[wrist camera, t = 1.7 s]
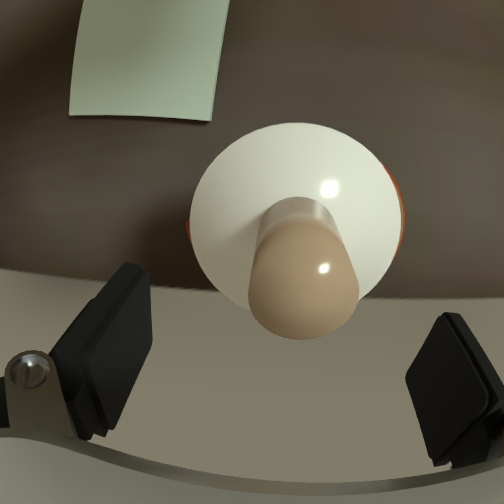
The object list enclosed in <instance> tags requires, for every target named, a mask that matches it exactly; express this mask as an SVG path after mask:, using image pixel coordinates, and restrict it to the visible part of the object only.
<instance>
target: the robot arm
mask: <svg viewBox="0 0 504 504" xmlns="http://www.w3.org/2000/svg"><path fill="white" fill-rule="evenodd" d="M151 345H152V321H151V301H150V273H149V271H145V268H144V266H143V265H139V264H134V263H129V262H125V263H124V264H123V265H122V266H121V267H120V268H119V269H118V270H117V272H116V273H115V274H114V275H113V276H112V278H111V279H110V280H109V281H108V282H107V284H106V285H105V286H104V287H103V288H102V290H101V291H100V292H99V293H98V294H97V296H96V297H95V298H93V299H91V300H90V301H89V302H88V303H87V305H86V306H85V307H84V308H83V310H82V311H81V312H80V313H79V315H78V316H77V317H76V318H75V320H74V321H73V322H72V323H71V325H70V326H69V327H68V329H67V330H66V331H65V333H64V334H63V335H62V336H61V338H60V339H59V341H58V342H57V343H56V344H55V346H54V347H53V348H52V350H51V351H50V352H49V354H48V355H47V354H46V353H44V352H42V351H36V350H31V351H25V352H22V353H19V354H18V355H16V356H14V357H13V358H12V359H11V360H10V361H9V362H8V364H7V366H6V369H5V375H4V377H1V378H0V504H504V385H503V383H502V381H501V380H500V378H499V376H498V374H497V372H496V371H495V369H494V367H493V366H492V364H491V362H490V360H489V359H488V357H487V356H486V354H485V352H484V351H483V349H482V347H481V346H480V344H479V342H478V341H477V339H476V338H475V336H474V335H473V333H472V332H471V330H470V328H469V327H468V325H467V324H466V322H465V321H464V319H463V318H462V317H461V315H460V314H458V313H450V312H445V313H443V314H442V315H441V316H439V317H438V318H437V320H436V322H435V323H434V325H433V327H432V329H431V331H430V333H429V335H428V336H427V338H426V340H425V342H424V344H423V345H422V347H421V349H420V351H419V352H418V354H417V356H416V358H415V359H414V361H413V363H412V364H411V366H410V367H409V369H408V371H407V373H406V377H405V380H406V384H407V387H408V390H409V393H410V396H411V399H412V402H413V405H414V408H415V411H416V415H417V418H418V421H419V424H420V428H421V431H422V434H423V438H424V441H425V445H426V448H427V452H428V455H429V457H430V458H431V459H432V461H433V464H434V467H436V466H441V465H446V464H447V463H449V462H450V461H451V463H452V466H451V467H450V470H448V471H443V472H437V473H432V474H426V475H420V476H413V477H405V478H397V479H388V480H378V481H365V482H346V483H345V482H343V483H305V482H304V483H303V482H283V481H268V480H258V479H249V478H240V477H233V476H226V475H219V474H213V473H207V472H202V471H197V470H192V469H187V468H181V467H177V466H173V465H168V464H163V463H160V462H155V461H152V460H148V459H144V458H140V457H136V456H133V455H130V454H126V453H123V452H120V451H117V450H113V449H110V448H107V447H103V446H100V445H96V444H93V443H90V442H88V440H90V439H91V438H92V436H93V434H97V435H100V436H102V437H106V434H107V432H108V430H109V429H110V430H113V429H114V428H115V427H116V424H117V422H118V420H119V418H120V415H121V413H122V411H123V408H124V406H125V404H126V402H127V399H128V397H129V395H130V393H131V390H132V388H133V386H134V384H135V381H136V379H137V377H138V375H139V372H140V370H141V368H142V366H143V364H144V361H145V359H146V357H147V355H148V353H149V351H150V349H151Z"/></svg>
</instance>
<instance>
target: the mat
mask: <svg viewBox="0 0 504 504" xmlns="http://www.w3.org/2000/svg"><path fill="white" fill-rule="evenodd" d="M229 2H230V0H84V2H83V7H82V12H81V17H80V22H79V27H78V33H77V40H76V46H75V53H74V61H73V70H72V80H71V91H70V106H69V115H131V116H154V117H170V118H183V119H195V120H205V121H211V119H212V111H213V103H214V96H215V89H216V82H217V75H218V68H219V61H220V55H221V49H222V43H223V36H224V31H225V25H226V19H227V13H228V8H229Z"/></svg>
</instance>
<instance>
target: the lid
mask: <svg viewBox="0 0 504 504" xmlns="http://www.w3.org/2000/svg"><path fill="white" fill-rule="evenodd" d="M400 230H401V212H400V205H399V200H398V196H397V193H396V190H395V187H394V185H393V183H392V181H391V178H390V176H389V175H388V173H387V172H386V170H385V168H384V167H383V165H382V164H381V163H380V162H379V161H378V159H377V158H376V157H375V156H374V155H373V154H372V153H371V152H370V151H369V150H368V149H366V148H365V147H364V146H363V145H362V144H360V143H359V142H357V141H355V140H354V139H352V138H351V137H349V136H347V135H345V134H343V133H341V132H339V131H337V130H334V129H332V128H329V127H326V126H322V125H318V124H313V123H305V122H285V123H279V124H272V125H269V126H266V127H262V128H259V129H256V130H254V131H252V132H250V133H248V134H246V135H244V136H242V137H241V138H239V139H238V140H236V141H235V142H233V143H232V144H231V145H229V146H228V147H227V148H226V149H225V150H224V151H223V152H221V153H220V154H219V155H218V156H217V158H216V159H215V160H214V161H213V162H212V163H211V165H210V166H209V167H208V168H207V170H206V172H205V173H204V175H203V176H202V178H201V180H200V182H199V184H198V186H197V189H196V191H195V194H194V198H193V201H192V205H191V212H190V235H191V241H192V245H193V249H194V252H195V255H196V258H197V260H198V262H199V264H200V266H201V268H202V270H203V271H204V273H205V275H206V276H207V278H208V279H209V280H210V281H211V282H212V284H213V285H214V286H215V287H216V288H217V289H218V290H219V291H220V292H221V293H222V294H223V295H224V296H226V297H227V298H229V299H230V300H231V301H232V302H234V303H236V304H237V305H239V306H241V307H243V308H244V309H247V310H249V311H251V312H252V314H253V315H254V317H255V319H256V320H257V321H258V322H259V323H260V324H261V325H262V326H263V327H264V328H266V329H267V330H269V331H270V332H272V333H274V334H276V335H279V336H282V337H285V338H289V339H298V340H302V339H303V340H304V339H313V338H317V337H321V336H324V335H327V334H329V333H331V332H333V331H335V330H336V329H338V328H339V327H340V326H342V325H343V324H344V323H345V322H346V321H347V320H348V319H349V318H350V316H351V315H352V313H353V312H354V310H355V308H356V306H357V303H358V300H360V299H361V298H362V297H363V296H365V295H366V294H367V293H368V292H369V291H370V290H371V289H372V288H373V287H374V286H375V285H376V284H377V283H378V282H379V280H380V279H381V278H382V277H383V275H384V274H385V272H386V271H387V269H388V267H389V266H390V264H391V262H392V259H393V257H394V255H395V252H396V249H397V246H398V242H399V237H400Z"/></svg>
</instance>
